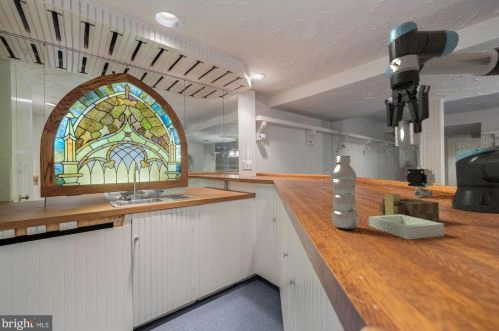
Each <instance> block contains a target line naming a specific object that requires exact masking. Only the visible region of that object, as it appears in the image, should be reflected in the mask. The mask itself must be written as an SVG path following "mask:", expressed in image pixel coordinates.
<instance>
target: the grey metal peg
mask: <svg viewBox="0 0 499 331" xmlns="http://www.w3.org/2000/svg"><path fill="white" fill-rule="evenodd" d="M411 121H412V119H402V121H399V122H398V136H399V146H398V155H399V156H398V157H399V159H398V160H399V168H418V161H417V160H418V158H417V155H418V153H417V144H411V136H410V123H414V122H411Z"/></svg>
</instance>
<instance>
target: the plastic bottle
mask: <svg viewBox="0 0 499 331" xmlns="http://www.w3.org/2000/svg"><path fill="white" fill-rule="evenodd" d="M351 161H352V160H351V156H350V155H338V156H337V155H336V156H335V161H334V163H335V164H336V165H335V166H334V167H333V169H332V170H331V172H330V179H331V185H332V186H331V188H332V194H333V201H332V202H333V204H332V212H331V221H332V224H333V225H334V227H336V228H339V229H344V230H350V229H351V230H354V229H356V228H357V226H358V225H359V224H358V222H359V217H358V213H357V209H356V208H357V207H356V200H355V198H356V197H355V194H356V189H355V188H356V182H357V180H356V179H357V174H356V172H355V170H354V169H353V166H351V164H350V163H351Z"/></svg>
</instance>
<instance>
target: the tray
mask: <svg viewBox="0 0 499 331" xmlns="http://www.w3.org/2000/svg"><path fill="white" fill-rule="evenodd" d="M369 226H371V227H370V228H372V227H374V228H373V229H375V228H376V229H375V230H378V229H379V231H381V230H382V231H381V232H384V231H385V232H384V233H387V232H388V233H387V234H390V233H391V234H390V235H393V236H396V237H398V236H399V238H402V239H405V240H417V239H423V238H424V239H425V238H426V239H427V238H434V237H443V236H445V224H444V223H441V222H433V221H429V220H424V219H419V218H415V217H410V216H406V215H401V214H398V215H384V216H380V215H375V216H374V215H373V216H368V227H369Z"/></svg>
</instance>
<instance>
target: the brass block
mask: <svg viewBox="0 0 499 331" xmlns="http://www.w3.org/2000/svg"><path fill="white" fill-rule="evenodd" d="M383 195H384V197H383V198H384V199H385V215H394V208H393V206H400V198H401V197H400V193H393V192H390V193H387V192H386V193H384V194H383Z"/></svg>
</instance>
